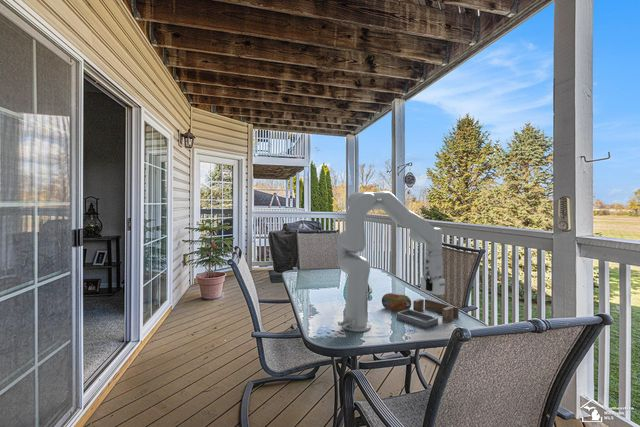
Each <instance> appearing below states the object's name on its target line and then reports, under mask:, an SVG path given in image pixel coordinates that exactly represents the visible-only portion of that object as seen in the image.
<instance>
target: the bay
mask: <svg viewBox="0 0 640 427" xmlns="http://www.w3.org/2000/svg"><path fill="white" fill-rule="evenodd" d="M412 304H413V305H412V308H413V309H412V310H414V311H417V312H420V313H423V312H424V309H425V310H429V311H432V312H434V313H435V312H436V313H439V314H442V315H441V316H442V322H443V323H446V324H447V323H449V322H451V321H454V318H455V319H460V318H459V313H460V312H459V310H460V308H459V307H458V306H454V305H450V304H447V303H443V302H440V301H436V300H433V299H429V298H425V299H423V298H417V299H413V303H412Z"/></svg>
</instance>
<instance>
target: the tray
mask: <svg viewBox="0 0 640 427" xmlns="http://www.w3.org/2000/svg"><path fill="white" fill-rule="evenodd" d="M396 320H398V321H401V322H403V323H407V324H409V325H412V326H415V327H418V328H420V329H424V330H428V329H431V328H433V327H435V326H438V325H439V318H438V317H436V316H433V315H430V314H426V313H424V312H417V311H414V310H413V309H411V308H410V309H407V310H404V311H397V312H396Z"/></svg>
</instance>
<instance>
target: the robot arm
mask: <svg viewBox="0 0 640 427" xmlns="http://www.w3.org/2000/svg"><path fill="white" fill-rule="evenodd" d="M346 202H347V206H348V209H347V211H346V214H345V219H344V230H343V231H341V232H340V233H339V234H338V235H337V239H336V240H337V241H336V249H337V261H338V266H339V268H340V270H341V271H342V272H343V273H345V274H347V275H348V276H347V281H346V283H345V285H346V286H345V292H346V294H345V316H344V317H343V319H342V320H339V321H338V322H337V326H338V327H342V328H343V329H345V330H346V331H350V332H356V333H361V332H366V331H369V330H371V329H372V328H371V327H372V325H371V323H370V322H369V321H368V305H369V304H368V302H369V300H368V299H369V294H368V293H369V292H368V291H369V277H370V273H371V266H370V262H369V260H367V258H365V257H363V256H362V255H359V254H358V253H362V252H363V251H364V250H365V247H366V229H365V221H366V220H365V219H366V216H367V215H368V214H369V212H370V211H371V210H382V211H383V212H384V213H385V214H386V215H387V216H388V217H389V218H390V219H391V220H392V221H393V222H395V224H397V225H399V226H401V227H404V228H407V229H409V233H408V234H409V235H408V236H409V238H410V239H411V241H413V242H415V243H418V244H419V243H420V244H425V254H424V255H425V257H424V265H423V275H422V276H423V277H424V279H425V282H426V290H428V291H432V278H433V277H436V278H442V276H443V275H444V264H443V254H442V252H443V251H442V250H443V230H442V228H440V227H433V225H432V224H431V223H430V222H429V221H428V220H426V219H424V218H423V217H421V216H419V215H418V214H416V213H415V212H413V211H411V210H410V209H409V208H408V207H407V206H406V205H404V203H402V202H401V201H400V199H398V197H397V196H395V194H393V192H390V191H388V190H381V191H372V192H371V191H370V192H369V191H360V192H359V191H358V192H353V193H351V194H349V196H348V197H347V200H346ZM428 277H430V279H429V278H428Z"/></svg>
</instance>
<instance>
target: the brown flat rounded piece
mask: <svg viewBox="0 0 640 427" xmlns="http://www.w3.org/2000/svg"><path fill="white" fill-rule="evenodd" d="M381 304H382V306H383V308H385V310H387V311H394V312H401V311H404V310H407V309H411V307H412V300H411V298H410V297H409V296H408V295H406V294H399V293H393V292H389V293H386V294H384V295H383V296H382V297H381Z"/></svg>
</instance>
